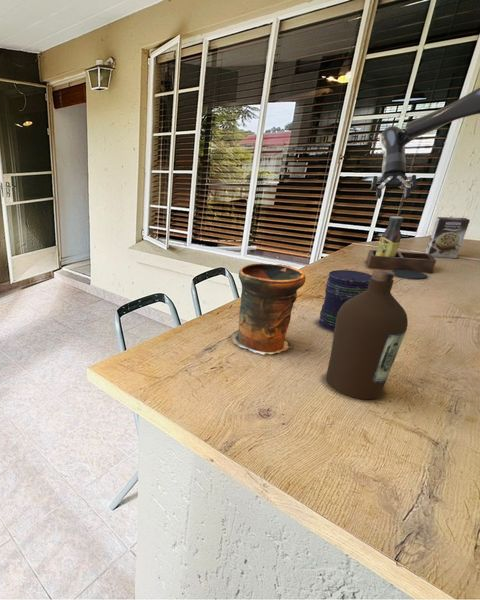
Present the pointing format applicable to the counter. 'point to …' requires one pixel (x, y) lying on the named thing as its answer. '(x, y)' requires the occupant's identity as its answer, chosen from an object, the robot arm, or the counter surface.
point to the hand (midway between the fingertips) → (392, 197)
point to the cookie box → (447, 237)
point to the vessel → (266, 306)
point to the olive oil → (367, 339)
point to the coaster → (409, 274)
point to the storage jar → (341, 294)
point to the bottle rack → (402, 261)
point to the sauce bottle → (390, 238)
